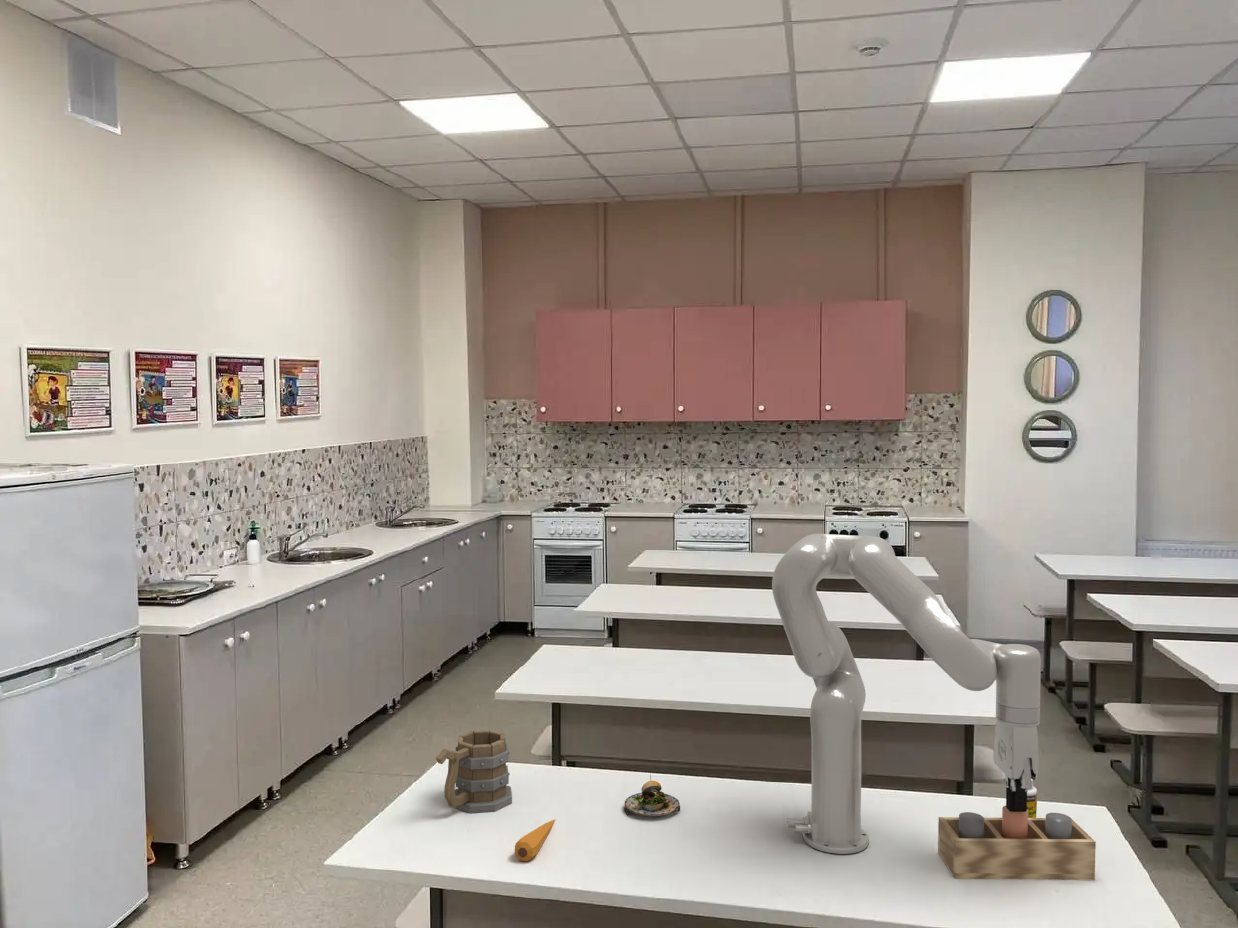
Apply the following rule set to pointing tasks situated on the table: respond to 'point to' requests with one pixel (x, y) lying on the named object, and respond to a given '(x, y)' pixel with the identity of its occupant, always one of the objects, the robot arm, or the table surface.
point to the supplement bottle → (1032, 801)
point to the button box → (1016, 853)
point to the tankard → (478, 772)
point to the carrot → (532, 842)
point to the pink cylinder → (1014, 824)
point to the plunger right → (1058, 826)
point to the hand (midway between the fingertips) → (1016, 809)
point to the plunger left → (971, 825)
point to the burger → (651, 801)
